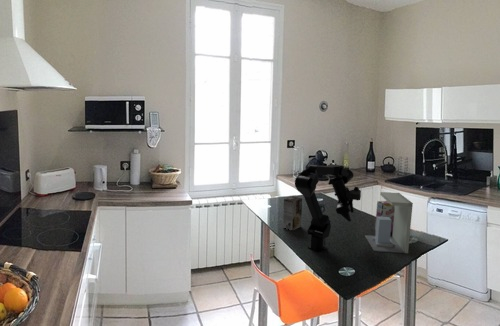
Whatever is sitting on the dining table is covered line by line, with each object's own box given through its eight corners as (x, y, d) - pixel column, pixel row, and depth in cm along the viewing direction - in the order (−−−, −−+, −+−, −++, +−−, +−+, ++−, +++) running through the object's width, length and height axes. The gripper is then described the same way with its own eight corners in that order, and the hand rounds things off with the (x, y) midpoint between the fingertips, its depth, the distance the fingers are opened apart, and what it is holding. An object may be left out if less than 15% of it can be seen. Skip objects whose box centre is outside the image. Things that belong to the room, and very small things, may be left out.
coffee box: (291, 224, 205) (292, 196, 203) (301, 226, 201) (302, 198, 199) (282, 228, 198) (283, 199, 196) (292, 231, 194) (293, 201, 192)
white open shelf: (374, 251, 169) (378, 201, 166) (365, 236, 189) (368, 191, 185) (408, 253, 168) (412, 203, 164) (395, 237, 188) (399, 192, 184)
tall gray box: (377, 244, 176) (379, 219, 174) (375, 240, 181) (377, 216, 179) (389, 245, 176) (391, 220, 174) (386, 241, 181) (388, 216, 179)
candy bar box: (380, 233, 193) (382, 203, 191) (374, 230, 198) (376, 201, 196) (397, 232, 197) (400, 202, 194) (391, 229, 201) (394, 199, 199)
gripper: (353, 192, 166) (365, 222, 169) (358, 177, 182) (369, 204, 185) (330, 198, 171) (342, 227, 174) (337, 182, 187) (348, 209, 190)
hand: (351, 216), depth 181 cm, fingers open, 9 cm apart
